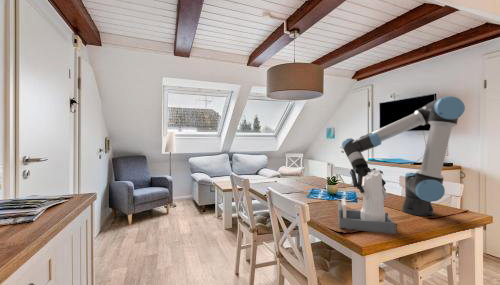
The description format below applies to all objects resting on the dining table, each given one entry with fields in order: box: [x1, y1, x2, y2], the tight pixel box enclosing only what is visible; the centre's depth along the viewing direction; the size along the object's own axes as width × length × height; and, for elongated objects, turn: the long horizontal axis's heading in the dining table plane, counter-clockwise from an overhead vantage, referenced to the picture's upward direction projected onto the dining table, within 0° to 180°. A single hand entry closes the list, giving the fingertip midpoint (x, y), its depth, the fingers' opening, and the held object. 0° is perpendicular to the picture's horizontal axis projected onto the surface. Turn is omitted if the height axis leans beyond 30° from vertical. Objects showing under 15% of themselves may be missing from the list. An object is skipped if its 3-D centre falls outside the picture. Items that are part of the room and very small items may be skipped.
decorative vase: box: [360, 168, 386, 222], centre depth 116 cm, size 11×11×25 cm
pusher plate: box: [341, 198, 347, 218], centre depth 120 cm, size 2×13×10 cm, turn 161°
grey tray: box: [337, 201, 397, 235], centre depth 117 cm, size 24×16×9 cm, turn 71°
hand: (376, 198), depth 113 cm, fingers closed on decorative vase, 9 cm apart
